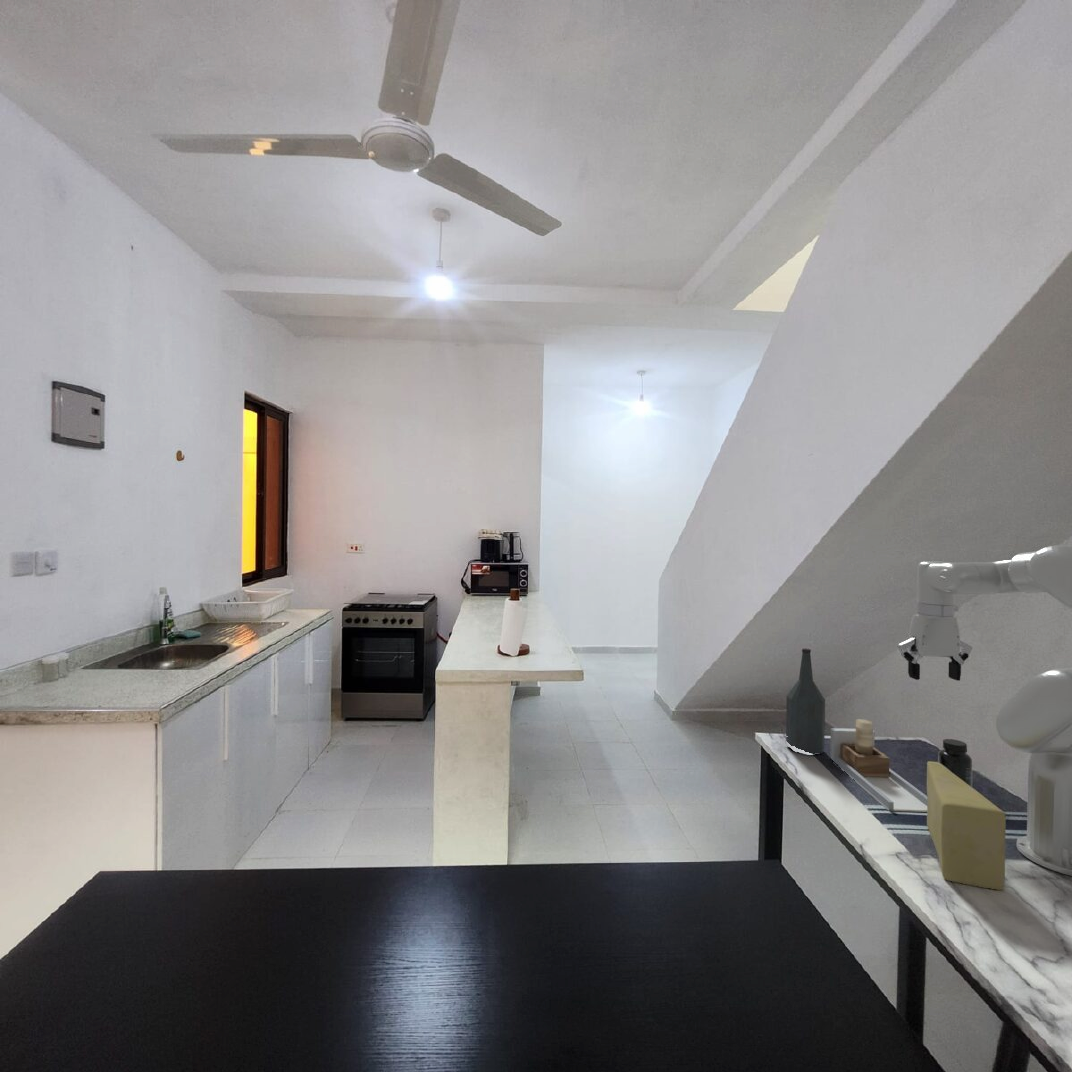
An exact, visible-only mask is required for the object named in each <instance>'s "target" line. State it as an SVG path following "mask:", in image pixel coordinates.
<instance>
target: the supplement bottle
mask: <svg viewBox="0 0 1072 1072" xmlns="http://www.w3.org/2000/svg"><path fill="white" fill-rule="evenodd" d="M967 752H968V745H967V743H966V742H964V741H961V740H958V739H953V738H944V739H943V740H942V749H940V750H939V751H938V753H937V754H938V755H937V759H938V760H937V762H938V763H940V764H942V765H943V766H945V767H946V768H947V769H948V770H950V771H951V772H952V773H953V774H955V775H956V776H957V777H959V778H960V779H961V780H963V781H964V782H965V783H967V784H968V785H969V786H971V787H972V788H973V759H972V757H971V756H970V755H969V754H968V753H967Z"/></svg>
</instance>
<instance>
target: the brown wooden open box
mask: <svg viewBox="0 0 1072 1072" xmlns="http://www.w3.org/2000/svg"><path fill="white" fill-rule="evenodd" d="M840 758H841V759H842V760H844V761H845V762H846V763H847V764H848V765H850V766H851V767H852V768H853V769H854V770H856V771H857V772H858V773H859V774H860V775H862V776H875V777H889V768H890V757H888V756H887V755H886V754H885V753H884V752H882V751H880V750H879V749H878V748H876V747H875V746H874V747H873V755H858V754H857V753H856V752H855V744H841V752H840Z"/></svg>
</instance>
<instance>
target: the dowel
mask: <svg viewBox="0 0 1072 1072" xmlns="http://www.w3.org/2000/svg"><path fill="white" fill-rule="evenodd" d="M855 729H856V739H855V752H856V753H857V754H858V755H873V731H874V722H872V721H871V720H868V719H865V718H858V719H857V718H856V719H855Z"/></svg>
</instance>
